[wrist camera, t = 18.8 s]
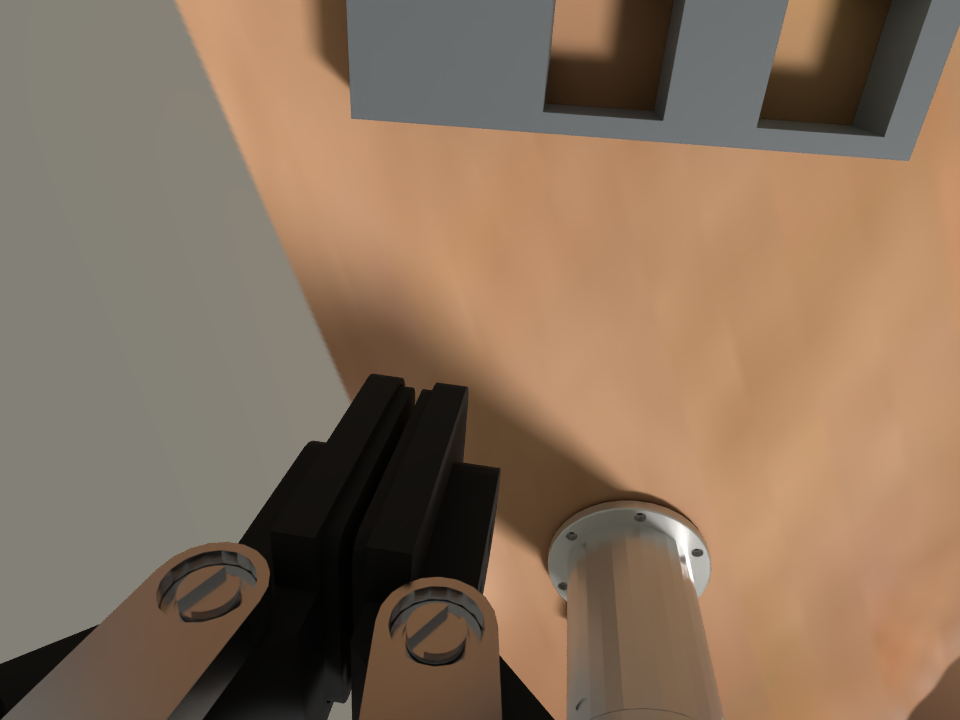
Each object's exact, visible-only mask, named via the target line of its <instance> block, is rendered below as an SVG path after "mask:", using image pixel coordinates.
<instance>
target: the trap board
mask: <svg viewBox="0 0 960 720" xmlns="http://www.w3.org/2000/svg"><path fill="white" fill-rule="evenodd" d="M555 1H556V0H346V7H347V31H348V54H349V77H350V100H351V119H364V120H377V121H390V122H403V123H416V124H430V125H443V126H456V127H469V128H482V129H495V130H508V131H522V132H535V133H548V134H561V135H574V136H587V137H600V138H613V139H627V140H640V141H653V142H666V143H679V144H692V145H705V146H719V147H732V148H745V149H758V150H771V151H784V152H797V153H811V154H824V155H837V156H850V157H863V158H876V159H889V160H902V161H909V160H910V157H911V154H912V152H913V149H914V146H915V144H916V141H917V138H918V135H919V133H920V130H921V127H922V125H923V122H924V119H925V117H926V114H927V111H928V109H929V106H930V103H931V100H932V98H933V95H934V92H935V90H936V87H937V84H938V82H939V79H940V76H941V74H942V71H943V68H944V65H945V63H946V60H947V57H948V55H949V52H950V49H951V47H952V44H953V41H954V39H955V36H956V33H957V31H958V28H959V25H960V0H892V2H891V5H890V8H889V11H888V14H887V17H886V20H885V23H884V27H883V30H882V33H881V36H880V39H879V42H878V45H877V48H876V52H875V55H874V58H873V61H872V64H871V67H870V70H869V73H868V77H867V80H866V83H865V86H864V89H863V92H862V95H861V98H860V101H859V105H858V108H857V111H856V114H855V117H854V120H853V123H852V125H841V124H827V123H813V122H799V121H785V120H771V119H759V116H760V112H761V108H762V104H763V100H764V96H765V92H766V88H767V84H768V80H769V76H770V72H771V68H772V64H773V60H774V56H775V52H776V48H777V44H778V40H779V36H780V32H781V28H782V24H783V21H784V17H785V13H786V9H787V5H788V1H789V0H673V6H672V12H671V17H670V23H669V29H668V34H667V40H666V46H665V52H664V57H663V63H662V69H661V74H660V80H659V86H658V92H657V97H656V103H655V109H654V111H646V110H632V109H619V108H605V107H591V106H577V105H563V104H549V103H546V94H547V84H548V74H549V63H550V53H551V42H552V32H553V22H554V11H555Z"/></svg>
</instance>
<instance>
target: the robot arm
mask: <svg viewBox="0 0 960 720" xmlns="http://www.w3.org/2000/svg"><path fill="white" fill-rule="evenodd" d="M467 407H468V387H465V386H458V385H450V384H443V383H436V384H435V386H434V388H433V390H426V389H423V390H422V391H421V394H420V396H419V398H418V400H417V402H416V405H415V389H414V388H411V387H405V382H404V379H403V378H399V377H392V376H385V375H377V374H371V375H370V376H369V377H368V378H367V380H366V382H365V383H364V385H363V386H362V388H361V389H360V391H359V392H358V394H357V396H356V397H355V399H354V400H353V402H352V403H351V405H350V407H349V408H348V410H347V411H346V413H345V414H344V416H343V418H342V419H341V421H340V422H339V424H338V425H337V427H336V428H335V430H334V431H333V433H332V435H331V436H330V438H329V439H328V441H327V442H319V441H311V442H309V443H308V444H307V445H306V446H305V447H304V448H303V450H302V451H301V453H300V454H299V456H298V457H297V459H296V460H295V461H294V463H293V464H292V466H291V467H290V469H289V470H288V472H287V473H286V475H285V476H284V477H283V479H282V481H281V482H280V483H279V485H278V486H277V488H276V489H275V490H274V492H273V494H272V495H271V497H270V498H269V499H268V501H267V502H266V504H265V505H264V506H263V508H262V509H261V511H260V512H259V514H258V515H257V517H256V518H255V520H254V521H253V523H252V524H251V525H250V527H249V528H248V530H247V531H246V533H245V534H244V536H243V537H242V539H241V540H240V541H239V543H238V544H237V543H230V542H220V543H208V544H205V545H201V546H197V547H193V548H190V549H188V550H186V551H184V552H182V553H180V554H178V555H176V556H174V557H172V558H171V559H169V560H168V561H167V562H165V563H164V564H163V565H162V566H160V567H159V568H158V569H157V570H156V571H155V572H154V573H153V574H151V575H150V576H149V577H148V578H147V579H146V580H145V581H144V582H143V583H142V584H141V585H140V586H139V587H138V588H137V589H136V590H135V591H134V592H133V593H132V594H131V595H130V596H129V597H128V598H127V599H126V600H124V601H123V602H122V603H121V604H120V605H119V606H118V607H117V608H116V609H115V610H114V611H113V612H112V613H111V614H110V615H109V616H108V617H107V618H106V619H105V620H104V621H103V622H102V623H101V624H99V625H97V626H94V627H92V628H89V629H87V630H84V631H82V632H79V633H77V634H74V635H72V636H69V637H67V638H64V639H62V640H59V641H57V642H54V643H52V644H49V645H47V646H44V647H42V648H39V649H37V650H34V651H32V652H29V653H27V654H24V655H22V656H19V657H17V658H14V659H12V660H9V661H7V662H4V663H2V664H0V720H327V719H328V716H329V713H330V711H331V708H332V705H333V703H334V702H339V703H345V702H346V701H347V699H348V697H349V694H350V691H351V689H352V720H554V718H553V717H552V716H551V715H550V714H549V713H548V711H547V710H546V709H545V708H544V707H543V706H542V704H541V703H540V702H539V701H538V700H537V699H536V697H535V696H534V695H533V694H532V693H531V692H530V690H529V689H528V688H527V687H526V686H525V685H524V683H523V682H522V681H521V680H520V679H519V678H518V676H517V675H516V674H515V673H514V672H513V670H512V669H511V668H510V667H509V666H508V665H507V663H506V662H505V661H504V660H503V659H502V658H501V656H500V655H499V638H498V624H497V620H496V616H495V611H494V609H493V608H492V606H491V605H490V603H489V602H488V600H487V599H486V597H485V596H483V591H484V585H485V580H486V574H487V568H488V562H489V556H490V550H491V544H492V537H493V530H494V523H495V516H496V508H497V499H498V490H499V482H500V471H501V470H500V468H495V467H488V466H481V465H474V464H468V463H463V457H464V444H465V432H466V419H467ZM548 571H549V576H550V579H551V581H552V584H553V586H554V587H555V589H556V590H557V592H558V593H559V595H560V596H561V597H562V598H563V599H564V600H565V601H566V602H567V720H725V719H724V715H723V710H722V706H721V701H720V697H719V692H718V688H717V683H716V679H715V674H714V670H713V665H712V661H711V657H710V652H709V648H708V643H707V638H706V634H705V629H704V625H703V620H702V616H701V611H700V607H699V602H698V598H699V597H700V596H701V594H702V593H703V592H704V591H705V589H706V587H707V584H708V582H709V580H710V575H711V558H710V554H709V551H708V547H707V544H706V542H705V540H704V538H703V536H702V534H701V533H700V532H699V531H698V529H697V528H696V527H695V526H694V525H693V524H692V523H691V522H690V521H688V520H687V519H686V518H685V517H683V516H682V515H680V514H678V513H676V512H674V511H672V510H670V509H669V508H666V507H663V506H660V505H657V504H653V503H648V502H642V501H613V502H605V503H602V504H598V505H595V506H591V507H589V508H586V509H584V510H582V511H580V512H578V513H576V514H575V515H573V516H572V517H571V518H569V519H568V520H566V521H565V522H564V523H563V525H562V526H561V527H560V528H559V529H558V530H557V531H556V533H555V535H554V537H553V538H552V540H551V544H550V547H549V551H548Z"/></svg>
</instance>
